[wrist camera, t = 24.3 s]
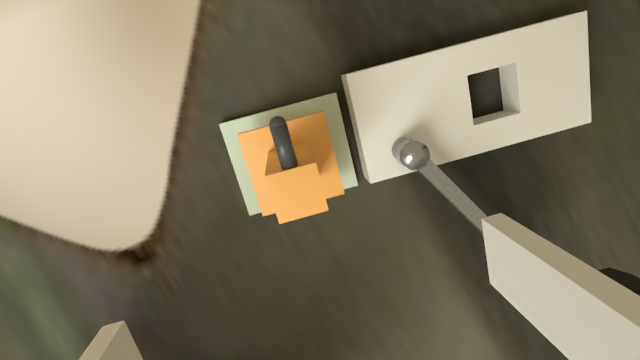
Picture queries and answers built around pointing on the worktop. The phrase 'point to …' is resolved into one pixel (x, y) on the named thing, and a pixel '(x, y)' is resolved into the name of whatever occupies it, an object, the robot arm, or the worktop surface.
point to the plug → (292, 166)
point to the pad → (288, 112)
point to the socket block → (454, 98)
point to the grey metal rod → (438, 179)
